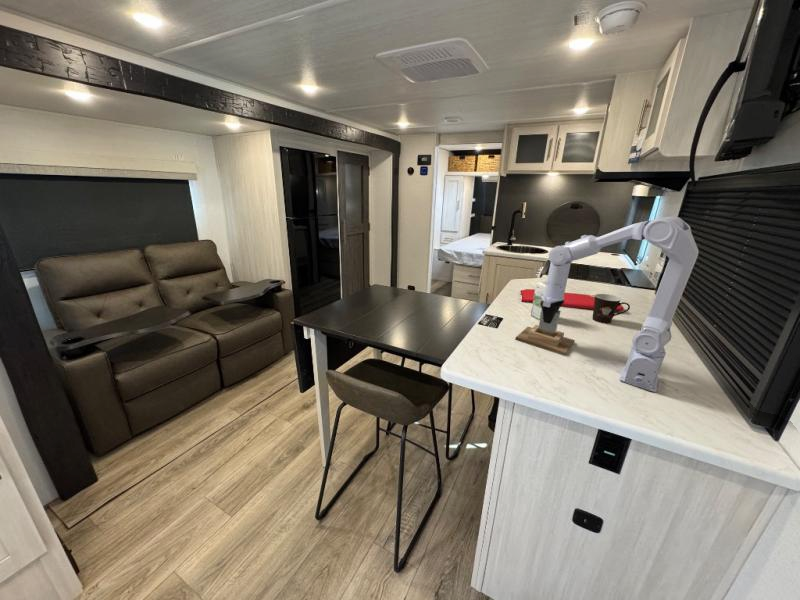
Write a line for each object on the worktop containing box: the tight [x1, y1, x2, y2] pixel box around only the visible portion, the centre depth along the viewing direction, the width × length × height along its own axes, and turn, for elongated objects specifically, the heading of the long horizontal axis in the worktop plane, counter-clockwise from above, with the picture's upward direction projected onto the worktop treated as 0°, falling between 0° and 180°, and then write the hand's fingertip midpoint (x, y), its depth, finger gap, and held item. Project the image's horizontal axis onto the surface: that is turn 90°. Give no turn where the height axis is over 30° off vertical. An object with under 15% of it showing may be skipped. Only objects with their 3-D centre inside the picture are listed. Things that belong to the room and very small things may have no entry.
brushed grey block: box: [538, 309, 562, 333], centre depth 103 cm, size 3×5×7 cm, turn 49°
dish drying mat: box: [519, 288, 625, 312], centre depth 144 cm, size 16×41×4 cm, turn 72°
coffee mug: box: [592, 293, 631, 325], centre depth 122 cm, size 12×9×10 cm
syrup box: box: [530, 281, 547, 321], centre depth 124 cm, size 6×6×14 cm
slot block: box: [515, 324, 576, 357], centre depth 106 cm, size 12×16×4 cm
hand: (548, 321), depth 104 cm, fingers closed on brushed grey block, 3 cm apart
